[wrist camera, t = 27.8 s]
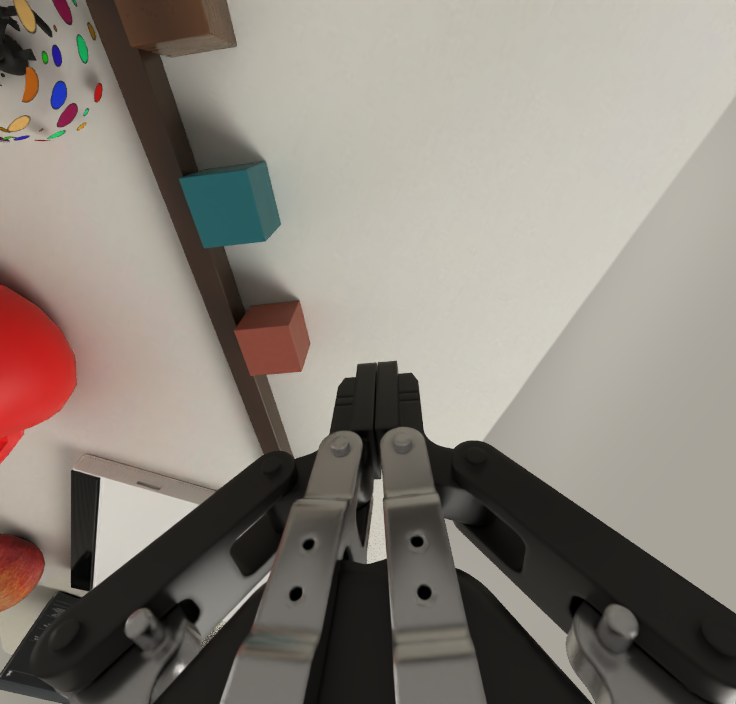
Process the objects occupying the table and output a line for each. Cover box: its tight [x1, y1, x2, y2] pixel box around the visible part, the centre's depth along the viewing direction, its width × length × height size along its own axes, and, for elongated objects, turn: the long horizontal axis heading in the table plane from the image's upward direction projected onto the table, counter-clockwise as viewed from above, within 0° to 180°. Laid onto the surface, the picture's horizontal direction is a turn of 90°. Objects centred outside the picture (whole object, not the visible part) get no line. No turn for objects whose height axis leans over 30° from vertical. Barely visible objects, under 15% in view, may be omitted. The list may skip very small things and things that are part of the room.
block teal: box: [179, 161, 281, 248], centre depth 26 cm, size 4×4×4 cm
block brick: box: [234, 301, 310, 376], centre depth 32 cm, size 4×4×4 cm
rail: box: [86, 0, 294, 458], centre depth 32 cm, size 2×44×2 cm, turn 7°
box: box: [0, 592, 80, 704], centre depth 63 cm, size 17×7×12 cm, turn 50°
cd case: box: [71, 454, 270, 623], centre depth 55 cm, size 35×2×31 cm
